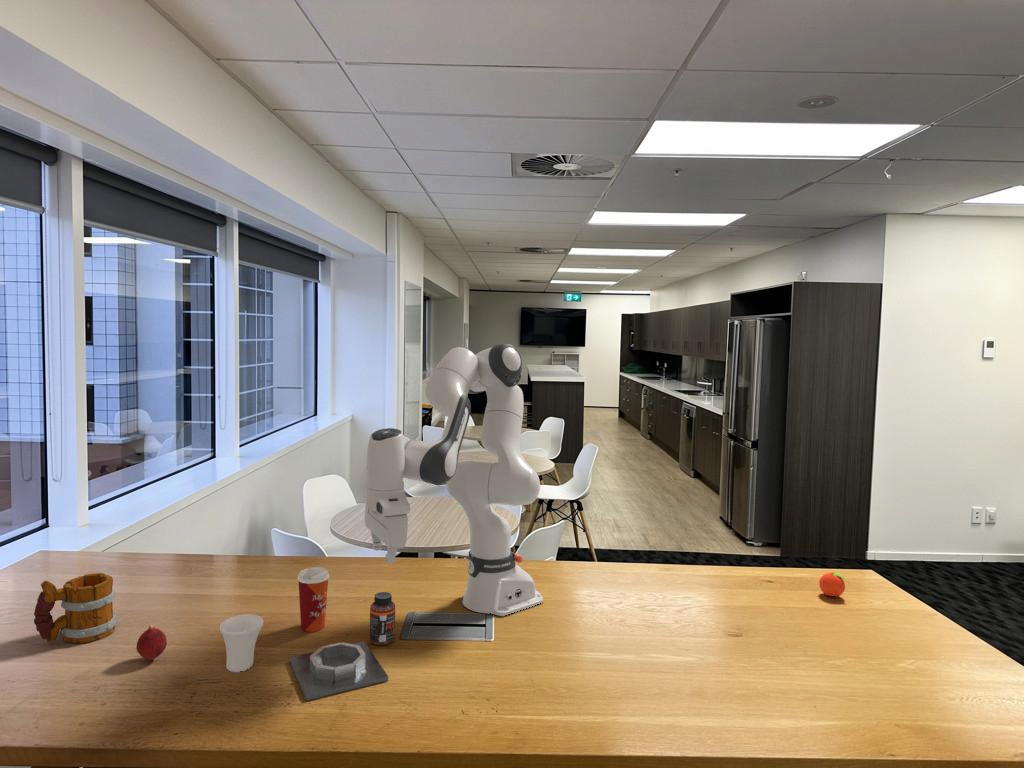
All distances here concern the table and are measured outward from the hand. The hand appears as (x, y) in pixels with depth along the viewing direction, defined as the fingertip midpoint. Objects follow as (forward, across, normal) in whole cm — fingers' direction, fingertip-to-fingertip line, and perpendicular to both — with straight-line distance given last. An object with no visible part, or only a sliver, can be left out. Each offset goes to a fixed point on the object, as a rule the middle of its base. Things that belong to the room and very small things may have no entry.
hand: (383, 555), depth 154 cm
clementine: (+21, +31, +128) cm, 133 cm away
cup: (+21, -2, -31) cm, 38 cm away
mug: (+21, -32, -63) cm, 74 cm away
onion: (+21, -13, -48) cm, 54 cm away
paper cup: (+21, -14, -13) cm, 28 cm away
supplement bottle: (+21, 0, 0) cm, 21 cm away
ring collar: (+21, +9, -13) cm, 26 cm away
